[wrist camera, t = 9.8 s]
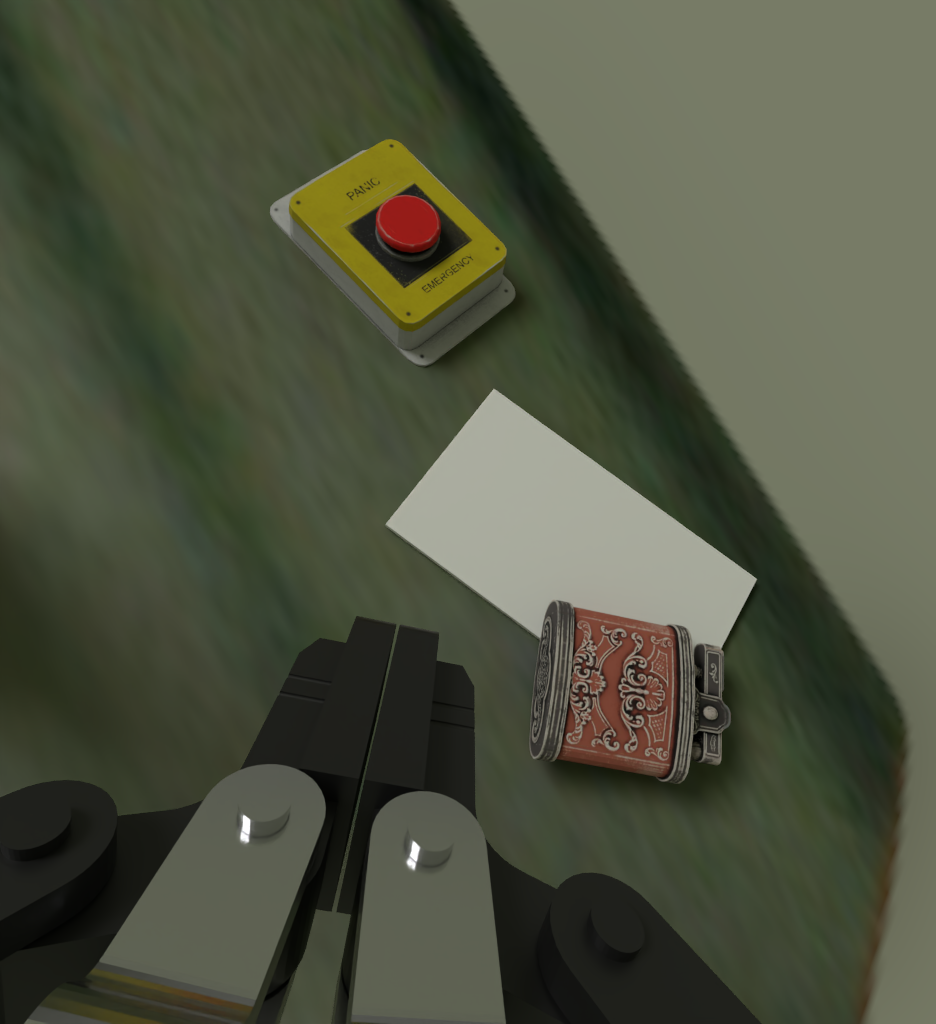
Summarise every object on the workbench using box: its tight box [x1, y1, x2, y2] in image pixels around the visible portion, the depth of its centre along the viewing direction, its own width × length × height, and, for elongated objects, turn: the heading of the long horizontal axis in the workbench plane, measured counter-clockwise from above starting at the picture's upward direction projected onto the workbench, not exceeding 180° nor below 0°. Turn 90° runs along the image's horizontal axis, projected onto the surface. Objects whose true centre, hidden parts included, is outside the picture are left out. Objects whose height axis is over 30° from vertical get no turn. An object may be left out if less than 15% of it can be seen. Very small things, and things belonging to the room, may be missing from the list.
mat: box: [385, 389, 757, 655], centre depth 33 cm, size 11×20×1 cm, turn 55°
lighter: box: [530, 600, 731, 784], centre depth 30 cm, size 8×3×10 cm
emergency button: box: [270, 139, 515, 367], centre depth 36 cm, size 9×4×15 cm
